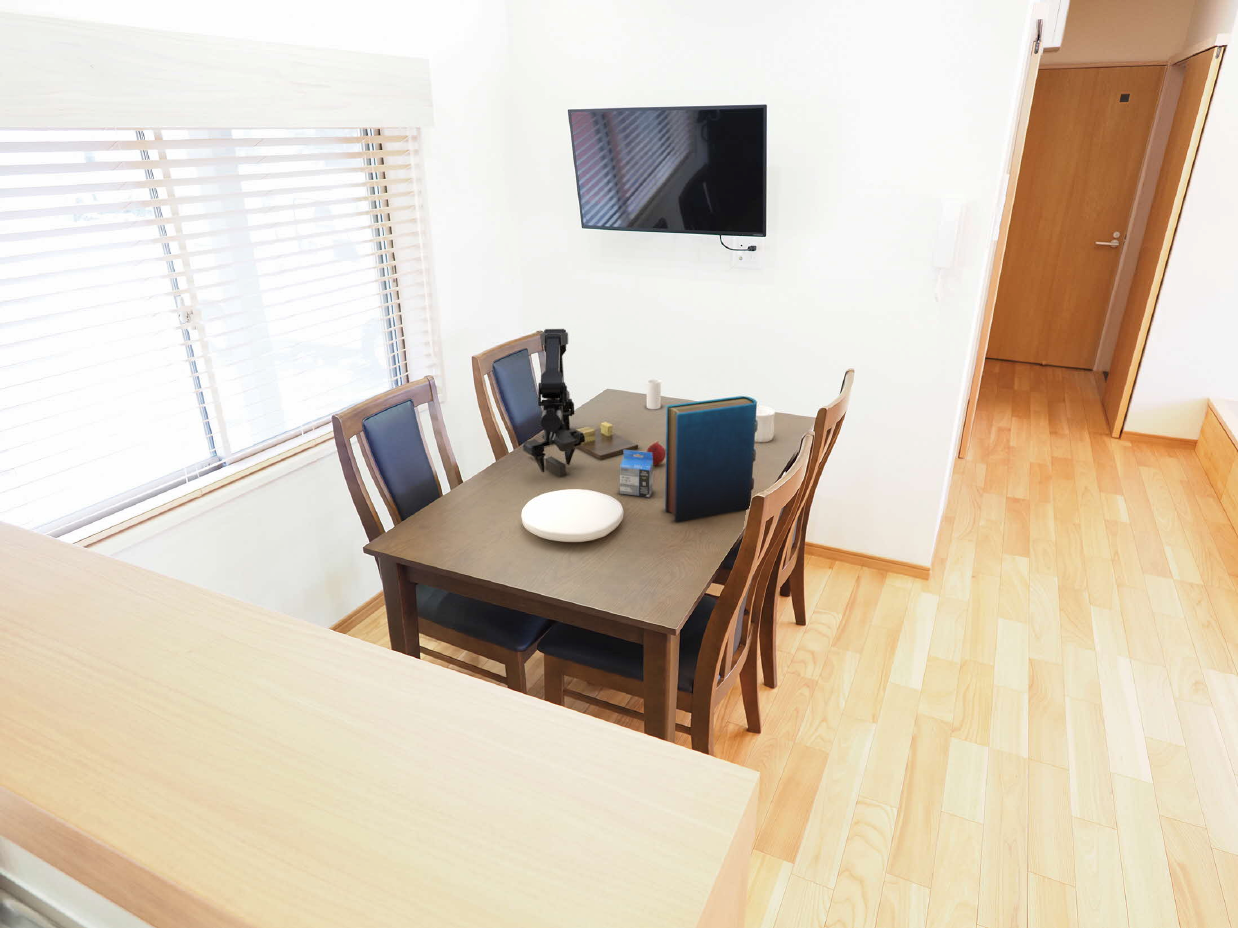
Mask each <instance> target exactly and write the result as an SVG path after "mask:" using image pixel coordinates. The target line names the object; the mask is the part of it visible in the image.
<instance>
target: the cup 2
mask: <svg viewBox="0 0 1238 928" xmlns="http://www.w3.org/2000/svg"><path fill="white" fill-rule="evenodd" d="M775 415H776V411H775V410H774V409H773V408H771V407H768V406H766V405H757V409H756V420H757V421H758V427H757V431H756V432H755V442H754V443H767V442H770V441H772V440H773V438H774V435H775Z"/></svg>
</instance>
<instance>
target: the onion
mask: <svg viewBox="0 0 1238 928" xmlns="http://www.w3.org/2000/svg"><path fill="white" fill-rule="evenodd" d="M659 443H660V442H659V441H658V440H655V441H654V442H653V443H652V444H651V445H650V446H649V447H648V448H647V450H646V452H650V453H652V457H653V466H658V465H660V464H661V463H662V462H664V461H665V460H666V449H665V448H664V446H662V445H661V444H659Z"/></svg>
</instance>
